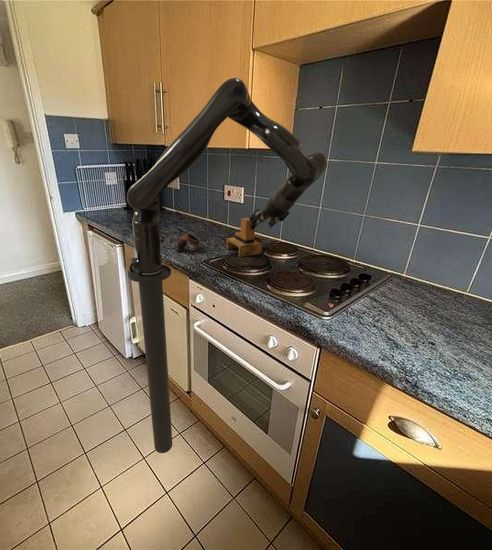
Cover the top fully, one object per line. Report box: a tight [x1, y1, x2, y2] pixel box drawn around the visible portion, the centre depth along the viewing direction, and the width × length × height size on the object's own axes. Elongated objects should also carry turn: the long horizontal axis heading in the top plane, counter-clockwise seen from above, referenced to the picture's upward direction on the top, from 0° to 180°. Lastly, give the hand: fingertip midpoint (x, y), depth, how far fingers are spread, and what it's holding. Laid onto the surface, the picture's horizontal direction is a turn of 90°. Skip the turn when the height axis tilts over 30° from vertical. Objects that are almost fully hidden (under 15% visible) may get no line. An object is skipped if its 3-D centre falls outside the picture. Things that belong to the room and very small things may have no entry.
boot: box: [234, 217, 256, 244], centre depth 130 cm, size 9×5×10 cm, turn 27°
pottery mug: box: [175, 233, 200, 252], centre depth 132 cm, size 12×9×8 cm
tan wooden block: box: [226, 234, 263, 258], centre depth 133 cm, size 11×12×7 cm
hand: (260, 226), depth 116 cm, fingers open, 8 cm apart
